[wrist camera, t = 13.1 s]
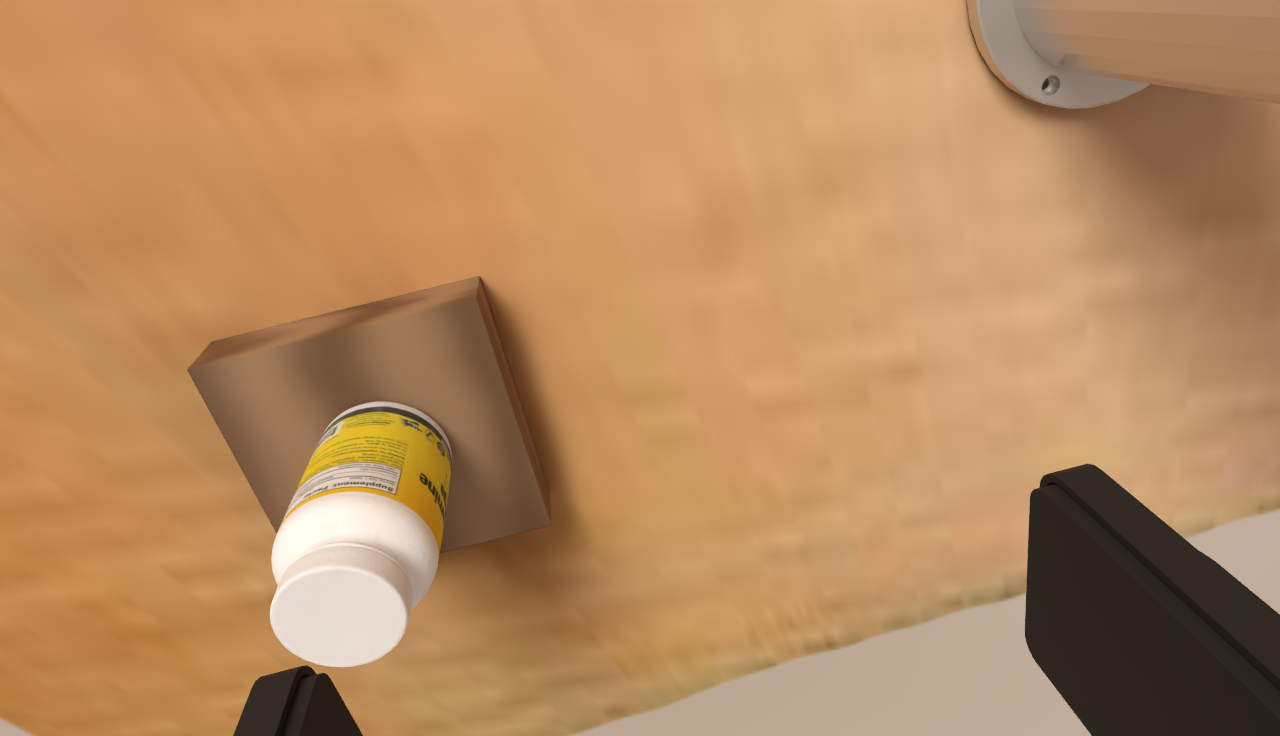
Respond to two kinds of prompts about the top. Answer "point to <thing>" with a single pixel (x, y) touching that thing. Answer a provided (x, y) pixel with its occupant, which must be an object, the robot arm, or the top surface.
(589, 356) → the top surface
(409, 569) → the pill bottle
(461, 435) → the walnut base
